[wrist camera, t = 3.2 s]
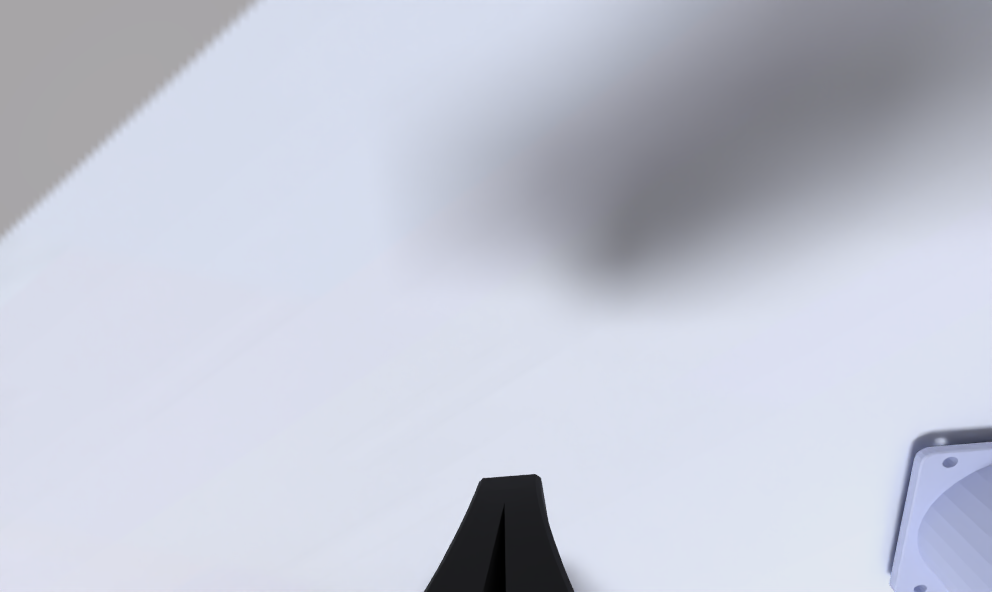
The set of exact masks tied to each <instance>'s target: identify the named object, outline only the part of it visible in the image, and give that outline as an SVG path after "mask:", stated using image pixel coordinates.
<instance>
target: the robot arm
mask: <svg viewBox="0 0 992 592" xmlns="http://www.w3.org/2000/svg"><path fill="white" fill-rule="evenodd" d="M890 586H891V588H892V589H893V590H894V592H992V442H983V443H970V444H958V445H946V446H933V447H927V448H923V449H921V450H920V451H919V452H918V453H916V456H915V458H914V462H913V467H912V472H911V477H910V482H909V487H908V492H907V497H906V502H905V507H904V512H903V517H902V522H901V527H900V532H899V537H898V542H897V547H896V552H895V557H894V562H893V567H892V573H891V578H890ZM424 592H574V590H573V588H572V585H571V583H570V581H569V578H568V576H567V573H566V571H565V568H564V566H563V563H562V561H561V558H560V555H559V552H558V549H557V547H556V544H555V541H554V538H553V535H552V532H551V529H550V526H549V522H548V517H547V511H546V505H545V499H544V493H543V487H542V481H541V478H540V477H539V476H537V475H536V474H531V475H519V476H506V477H493V478H483V479H482V480H481V481H480V482H479V484H478V486H477V489H476V491H475V494H474V496H473V498H472V501H471V503H470V505H469V508H468V510H467V512H466V514H465V516H464V518H463V521H462V523H461V525H460V527H459V529H458V531H457V533H456V535H455V537H454V539H453V541H452V543H451V544H450V546H449V548H448V550H447V552H446V554H445V556H444V558H443V560H442V562H441V563H440V565H439V567H438V569H437V571H436V572H435V574H434V576H433V577H432V579H431V581H430V583H429V584H428V586H427V588H426V589H425V591H424Z"/></svg>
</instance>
